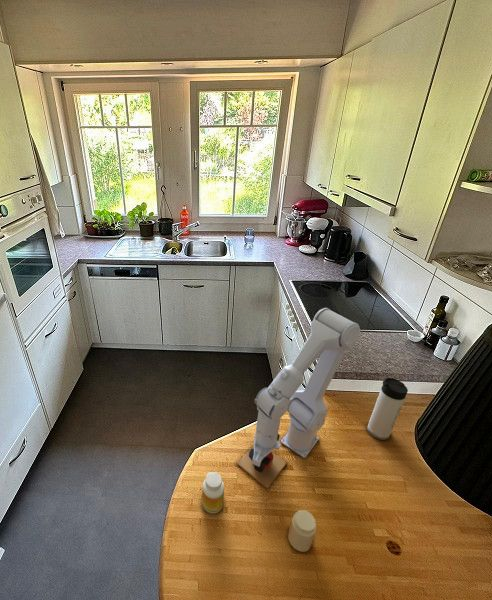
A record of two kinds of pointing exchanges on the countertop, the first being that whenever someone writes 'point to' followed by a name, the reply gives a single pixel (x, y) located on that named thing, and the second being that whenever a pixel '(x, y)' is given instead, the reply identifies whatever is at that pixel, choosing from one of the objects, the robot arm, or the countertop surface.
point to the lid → (270, 460)
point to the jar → (302, 530)
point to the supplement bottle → (213, 492)
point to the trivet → (267, 474)
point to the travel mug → (387, 408)
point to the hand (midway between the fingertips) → (262, 461)
